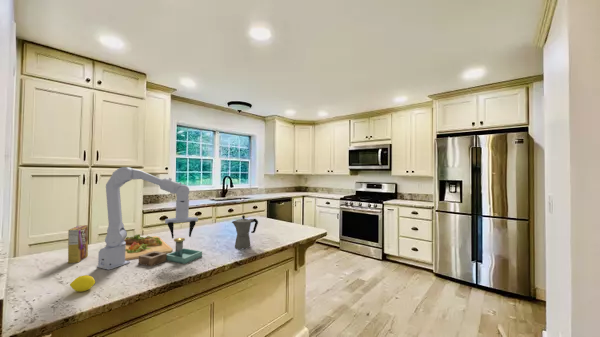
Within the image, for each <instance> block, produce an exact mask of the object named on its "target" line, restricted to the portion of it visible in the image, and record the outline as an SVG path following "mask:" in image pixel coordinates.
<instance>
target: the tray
mask: <svg viewBox="0 0 600 337" xmlns="http://www.w3.org/2000/svg"><path fill="white" fill-rule="evenodd" d="M202 257H203V251H202V250H197V249H190V248H185V247H183V257H178V256H175V251H172V252H171V253H167V259H166V261H169V262H173V263H179V264H183V265H185V264H188V263H190V262H192V261H195V260H197V259H199V258H202Z"/></svg>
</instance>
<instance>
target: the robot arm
mask: <svg viewBox="0 0 600 337" xmlns="http://www.w3.org/2000/svg"><path fill="white" fill-rule="evenodd" d="M132 180H143V181H146V182H149V183H151V184H154V185H158V187H159V188H160V190H163V191H166V192H168V193H170V194H172V195H174V194H175V195H176V199H175V217H173V218H165V220H164V221H165V222H164V224H166V225H167V227H168V228H169V230H170V233H171V239H175V238H174V235H175V234H174V224H175V223H177V224H179V223H189V230H188V237H189V238H192V233H193V230H194V228H195V226H196V223H198V222H199V218H198V217H196V216H195V217H192V216H190V217H189V208H190V204H189V202H190V196H189V195H190V188H189V186H188V185H186V184H182V183H183V182H178V181H174V180H172V177H171V178H170V177H169V178H168V177H165V178H160V177H158V176H155V175H153V174H150V173H148V172H147V171H143V170H142V169H141V170H140V169H137V168H133V167H130V166H127V167H126V166H122V167H119V168H117V169H116V170H114V171H113V172H112V175H111V176H110V178H109V179H108V181H107V182H106V184H105V193H106V194H105V195H106V206H107V207H106V208H107V219H108V220H107V222H108V226H107V230H106V236H105V239H104V242H105V246H104V247H102V248H100V249H99V251H98V258H97V260H98V261H97V265H96V267H97V268H100V269H104V270H108V271H109V270H112V269H116V268H119V267H121V266H124V265H127V264H130V263H131V261H130V260H126V261H125V252H126V242H125V241H124V239H125V238H126V237H128V234H127V233H128V232H127V230H126V228H125V225H124V222H123V215H122V214H123V213H122V203H121V201H122V200H121V199H122V198H121V188H122V187H123V186H124V185H125V184H126V183H127V182H131V181H132Z"/></svg>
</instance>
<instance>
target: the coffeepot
mask: <svg viewBox="0 0 600 337" xmlns="http://www.w3.org/2000/svg"><path fill="white" fill-rule="evenodd" d="M241 217H242V218H239V219H236V220H232V222H231V224H233V226H234V227H235V230H236V231H235V232H236V238H235V244H234V248H235V249H237V248H238V249H237V250H243V249H242V248H247V249H249V248H251V239H250V230H251V226H252V225H251V224H252V223H254V226H253V230H252V231H251V234H254V233H255V232H256V230H257V227H258V225H259V221H258V219H256V218H250V219H247V218H246V216H245V214H244V215H241ZM248 247H249V248H248Z"/></svg>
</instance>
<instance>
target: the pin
mask: <svg viewBox="0 0 600 337" xmlns="http://www.w3.org/2000/svg"><path fill="white" fill-rule="evenodd" d="M185 240H186V239H185V237H176V238H173V242H174V243H175V251H174V252H175V256H178V257H183V248H184V241H185Z"/></svg>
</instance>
